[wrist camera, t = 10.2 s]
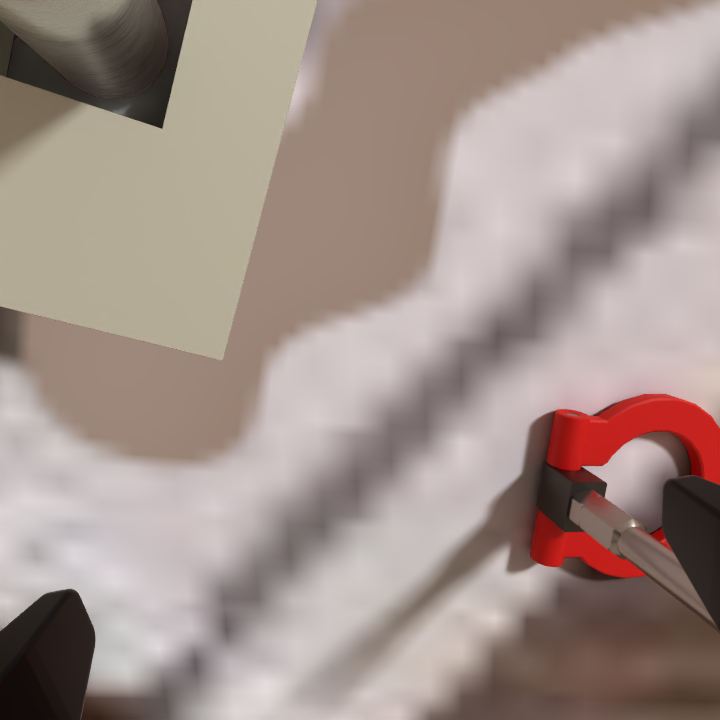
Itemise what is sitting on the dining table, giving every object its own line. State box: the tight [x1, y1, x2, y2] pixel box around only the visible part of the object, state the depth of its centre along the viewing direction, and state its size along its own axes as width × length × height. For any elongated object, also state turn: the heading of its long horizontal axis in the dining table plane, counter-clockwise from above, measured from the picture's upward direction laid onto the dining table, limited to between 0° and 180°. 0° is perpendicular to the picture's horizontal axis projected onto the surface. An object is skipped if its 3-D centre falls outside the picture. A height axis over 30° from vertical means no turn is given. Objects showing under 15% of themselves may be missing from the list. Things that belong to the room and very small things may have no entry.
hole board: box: [0, 0, 317, 360], centre depth 18 cm, size 18×12×3 cm, turn 163°
